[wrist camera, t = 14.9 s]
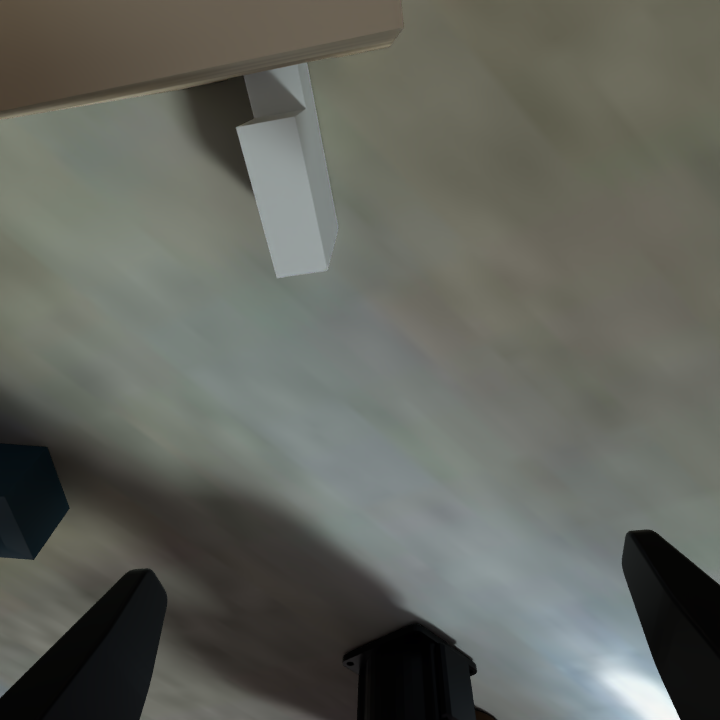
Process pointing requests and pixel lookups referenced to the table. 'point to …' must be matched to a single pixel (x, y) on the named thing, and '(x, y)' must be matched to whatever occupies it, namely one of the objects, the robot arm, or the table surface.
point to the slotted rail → (289, 170)
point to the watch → (28, 500)
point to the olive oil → (482, 716)
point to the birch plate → (169, 44)
